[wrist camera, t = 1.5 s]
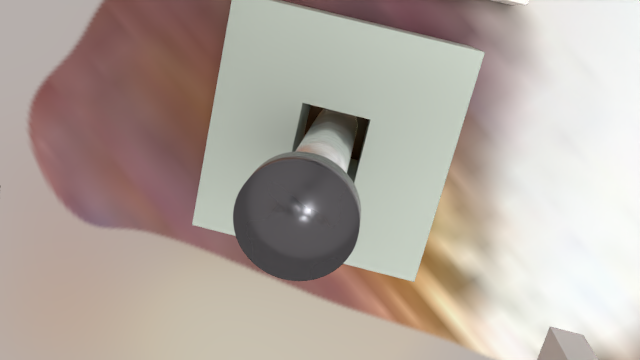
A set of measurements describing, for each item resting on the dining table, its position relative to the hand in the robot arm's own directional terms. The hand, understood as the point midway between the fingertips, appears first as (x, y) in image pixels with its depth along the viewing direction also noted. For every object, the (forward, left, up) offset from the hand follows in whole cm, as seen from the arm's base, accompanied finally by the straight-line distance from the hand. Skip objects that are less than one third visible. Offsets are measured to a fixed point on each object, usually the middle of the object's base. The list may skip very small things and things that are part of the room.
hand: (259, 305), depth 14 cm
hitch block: (0, 0, -21) cm, 21 cm away
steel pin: (0, 0, -21) cm, 21 cm away
